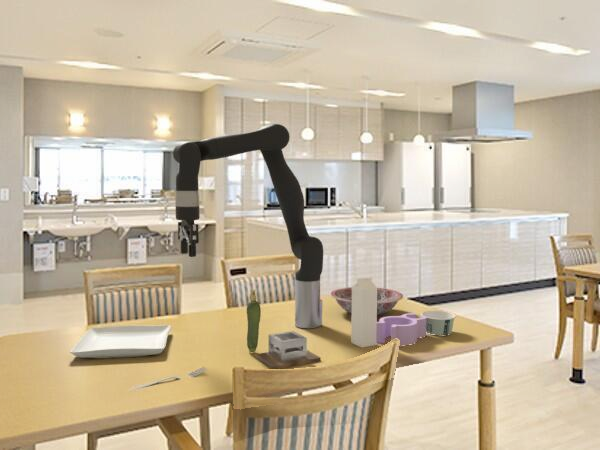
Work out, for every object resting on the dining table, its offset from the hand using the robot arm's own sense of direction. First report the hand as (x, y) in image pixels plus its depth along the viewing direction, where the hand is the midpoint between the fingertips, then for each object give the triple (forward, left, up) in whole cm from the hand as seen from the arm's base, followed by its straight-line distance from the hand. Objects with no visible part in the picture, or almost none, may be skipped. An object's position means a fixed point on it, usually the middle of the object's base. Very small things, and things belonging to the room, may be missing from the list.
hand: (188, 255), depth 168 cm
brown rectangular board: (-21, +29, -29) cm, 46 cm away
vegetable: (-15, +18, -30) cm, 38 cm away
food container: (-81, +30, -30) cm, 91 cm away
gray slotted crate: (-21, +29, -29) cm, 46 cm away
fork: (+16, +28, -30) cm, 44 cm away
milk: (-50, +28, -30) cm, 64 cm away
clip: (-65, +30, -30) cm, 77 cm away
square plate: (+19, -7, -30) cm, 36 cm away
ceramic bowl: (-75, -4, -30) cm, 81 cm away
